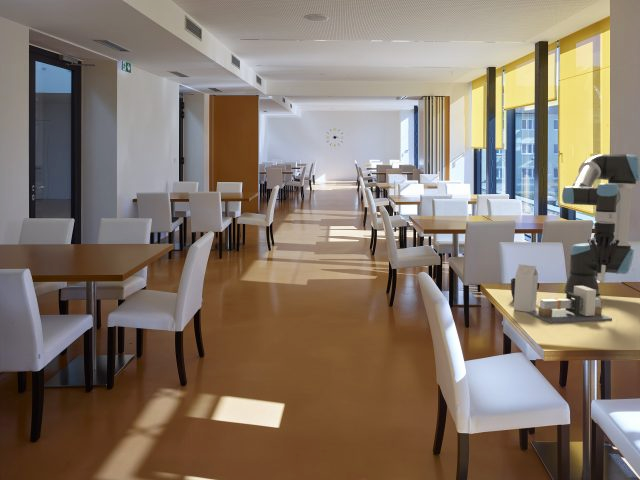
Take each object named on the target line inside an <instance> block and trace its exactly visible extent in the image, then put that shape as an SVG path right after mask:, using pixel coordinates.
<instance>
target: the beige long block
mask: <svg viewBox="0 0 640 480" xmlns="http://www.w3.org/2000/svg"><path fill="white" fill-rule="evenodd" d="M539 301H540V302H539V303H540V304H539V307H538V311H539V312H538V315H540V316H542V317H544V318H551V317H552V311H553V310H564V309H566V308H574V305H575V298H572V297H571V298H567V299H566V298H548V299H547V298H545V299H540V300H539ZM601 303H602V298H599V297H597V296H596V301H595V315H601V314H602V312H603V311H602V309H603V307H602V306H601ZM580 308H583V298H580Z"/></svg>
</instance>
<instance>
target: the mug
mask: <svg viewBox="0 0 640 480" xmlns="http://www.w3.org/2000/svg"><path fill="white" fill-rule="evenodd" d="M539 288H540V283H539V282H537V291H538V290H539ZM510 291H511V296H512V300H513V302H514V295H515V277H512V278H511V279H510Z"/></svg>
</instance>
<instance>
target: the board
mask: <svg viewBox="0 0 640 480" xmlns="http://www.w3.org/2000/svg"><path fill="white" fill-rule="evenodd" d="M538 312H539V310H534V311H530V312H528V314H529V315H531V316H533V317H536V318H537V319H540V320H543V321H545V322H546V323H548V324H564V323H566V324H567V323H568V324H569V323H582V322H583V323H584V322H589V321H590V322H606V321H605V320H610V321H613V318H612V317H610V316H607V315H604V314H602V313H601V315H592V316H585V315H582V314H580V313H579V314H574V313H572V312H569V311H567V310H565V309H552V317H551V318H544V317H542V316H540V315H538Z"/></svg>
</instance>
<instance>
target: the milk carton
mask: <svg viewBox="0 0 640 480" xmlns="http://www.w3.org/2000/svg"><path fill="white" fill-rule="evenodd" d="M514 278H515V295H514V301H513V311H519V312H526V313H529V312H530V311H536V309H537V297H538V296H537V295H538V290H537V283H538V279H539V274H538V271H537V266H536V265H531V264H522V263H518V268H517V270H516V272H515V277H514Z"/></svg>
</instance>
